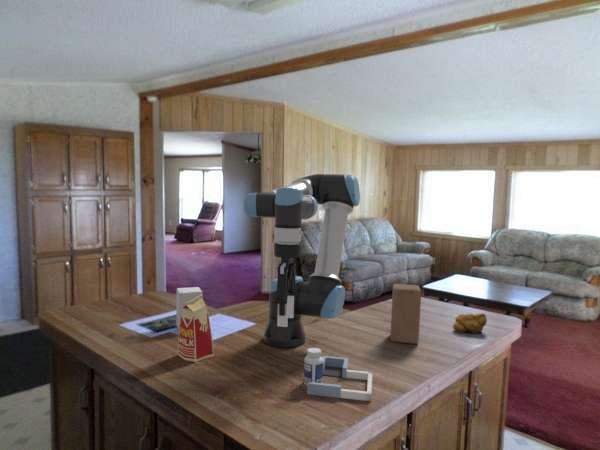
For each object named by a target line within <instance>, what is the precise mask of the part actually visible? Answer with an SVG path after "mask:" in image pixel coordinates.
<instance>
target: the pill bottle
mask: <svg viewBox="0 0 600 450" xmlns="http://www.w3.org/2000/svg"><path fill="white" fill-rule="evenodd" d="M323 377H324V376H323V358H322V350H321V349H320V348H318V347H309V348H307V349H306V356H305V357H304V363H303V383H304V385H305V386H307V387H308V382H316V383H324V382H323V379H324V378H323Z"/></svg>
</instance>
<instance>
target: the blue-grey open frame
mask: <svg viewBox="0 0 600 450" xmlns="http://www.w3.org/2000/svg"><path fill="white" fill-rule="evenodd" d="M321 357H322V358H323V372H324V369H325V366H331V367H341V368H343V371H342V377H341V378H343V379H345V378H346V374H347V370H349V362H350V361H349V360H350V359H349V357H339V356H338V357H337V356H331V355H330V356H328V355H321ZM346 379H347V378H346ZM306 389H307V395H310V396H318V397H319V396H320V397H329V398H330V397H331V398H338V399H342V398H341V389H342V385H341V384H333V383H324V382H322V383H316V382H308V386H307V388H306Z"/></svg>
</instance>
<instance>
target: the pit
mask: <svg viewBox="0 0 600 450" xmlns="http://www.w3.org/2000/svg"><path fill="white" fill-rule="evenodd" d="M342 371H343V368H341V367H331V366H325V369H324V372H323V377H332V378H333V377H335V378H343V377H342Z"/></svg>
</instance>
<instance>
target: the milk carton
mask: <svg viewBox="0 0 600 450" xmlns="http://www.w3.org/2000/svg"><path fill="white" fill-rule="evenodd" d="M185 305H186V306H185V307H183V309H182V315H181V321H180V328H179V330H178V339H177V355H178V357H180V358H182V359H183V360H184V361H188V362H193V363H194V362H195V363H197V362H199V361H200V362H201V360H205V359H209V358H212V357H215V352H214V341H213V340H214V339H213V332H212V327H211V321H210V318H209V316H210V315H209V312H208V309H207V308H208V307H207V305H206V303H205V301H204V299H202V294H201V295H199V296H198V297H196V298H195V299H193V300H191V301H189V302H186V303H185Z"/></svg>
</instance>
